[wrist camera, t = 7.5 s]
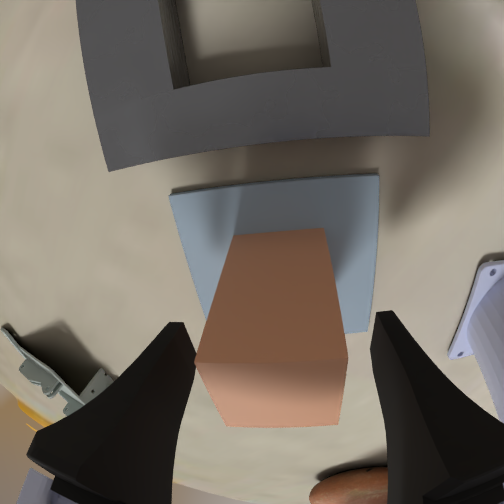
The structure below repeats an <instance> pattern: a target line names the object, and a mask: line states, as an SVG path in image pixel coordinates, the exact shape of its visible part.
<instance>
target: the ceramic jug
mask: <svg viewBox="0 0 504 504" xmlns="http://www.w3.org/2000/svg"><path fill="white" fill-rule="evenodd" d="M387 494H388V467H371V468H362V469H356V470H351V471H347V472H343V473H339V474H336V475H333V476H331V477H329V478H326V479H324V480H323V481H321V482H319V483H318V484H317V485H315V486H314V487H313V489H312V490H311V492H310V496H309V500H310V503H311V504H387Z"/></svg>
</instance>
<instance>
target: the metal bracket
mask: <svg viewBox="0 0 504 504" xmlns="http://www.w3.org/2000/svg"><path fill="white" fill-rule="evenodd" d="M1 331H2V332H3V334H4V335H5V336H6V337H7V339H8V340H9V341H10V342H11V343H12V345H13V346H14V347H15V348H16V349H17V351H18V352H19V353H20V354H21V355H22V356H23V357H24V359H25V361H24V362H23V363H22V365H21V366H20V368H19V371H20V372H21V373H22V374H23V375H24V376H25V377H26V378H27V379H28V380H29V381H30V382H31V383H32V384H34V385H38V386H41V387H42V391H43V393H44V394H45V395H47V397H48V398H50V399H51V398H53V397H54V396H55V395H56V394H57V393H58V394H59V395H60V396H62V397H63V398H64V399H65V400H66V401H67V402H68V404H67V405H66V406H65V408H64V409H63V413H64V414H65V415H67V416H68V415H70V414H72V413H73V412H75V411H77V410H78V409H80V408H81V407H83V406H84V405H85V404H87V403H88V402H89V401H91V400H92V399H94V398H95V397H96V396H98V395H99V394H100V393H101V392H103V391H104V390H105V389H106V388H107V387H108V386H110V385H111V384H112V383H113V382H114V380H113V379H112V378H111V377H110V376H109V375H106V376H105V371H104V370H103V369H102V368H100V369H99V370H98V372H97V373H96V374H95V376H94V377H93V378H92V379H91V381H90V382H89V383H88V385H87V386H86V387H85V389H84V390H83V391H82V393H81V394H80V395H79V396H78V395H77V394H76V393H75V392H74V391H73V390H72V389H71V388H70V387H69V386H68V385H67V384H66V383H65V382H64V381H63V380H62V379H61V378H60V377H59V376H58V375H57V374H56V373H55V372H54V371H53V370H52V369H51V368H50V367H48V366H47V365H45V364H44V363H42V362H41V361H40V360H38V359H37V358H35V357H34V356H33V355H31V354H30V353H28V352H27V351H26V350H24V349H23V348H22V347H20V346H19V345H18V343H17V342H16V341H15V340H14V339H13V337H12V336H11V335H10V334H9V332H8V331H7V330H5V329H4V328H3V327H2V328H1ZM92 390H94V392H93V393H92V392H91V391H92ZM52 391H53V392H52ZM51 392H52V394H51ZM67 409H68V410H67ZM66 410H67V411H66Z"/></svg>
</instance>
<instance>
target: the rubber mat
mask: <svg viewBox="0 0 504 504" xmlns="http://www.w3.org/2000/svg"><path fill="white" fill-rule="evenodd" d="M169 200H170V204H171V207H172V211H173V215H174V218H175V222H176V225H177V229H178V232H179V236H180V239H181V242H182V246H183V249H184V252H185V256H186V259H187V262H188V265H189V269H190V272H191V275H192V278H193V281H194V284H195V288H196V291H197V294H198V297H199V300H200V303H201V306H202V309H203V312H204V315H205V318H206V321H207V317H208V314H209V311H210V308H211V304H212V301H213V298H214V295H215V291H216V288H217V285H218V282H219V279H220V275H221V272H222V269H223V266H224V263H225V260H226V256H227V253H228V250H229V247H230V244H231V241H232V238H233V235H243V234H254V233H266V232H277V231H289V230H301V229H314V228H324V231H325V235H326V240H327V244H328V249H329V253H330V258H331V263H332V268H333V273H334V278H335V283H336V288H337V293H338V299H339V304H340V310H341V316H342V321H343V327H344V334H347V333H358V332H367V331H368V325H369V318H370V310H371V303H372V294H373V285H374V275H375V264H376V252H377V237H378V217H379V175H378V174H377V173H374V174H353V175H336V176H321V177H308V178H296V179H285V180H275V181H265V182H255V183H246V184H238V185H230V186H222V187H214V188H207V189H199V190H192V191H186V192H179V193H172V194H170V195H169Z"/></svg>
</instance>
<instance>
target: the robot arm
mask: <svg viewBox="0 0 504 504" xmlns="http://www.w3.org/2000/svg"><path fill="white" fill-rule="evenodd" d="M491 270H492V271H491ZM490 271H491V272H490ZM370 352H371V360H372V368H373V374H374V378H375V383H376V387H377V391H378V395H379V400H380V404H381V409H382V413H383V418H384V423H385V430H386V441H387V458H388V494H387V504H504V260H500V261H492V262H486V263H483V264H482V265H481V266H480V267H479V269H478V272H477V275H476V278H475V282H474V285H473V288H472V291H471V294H470V297H469V300H468V303H467V306H466V309H465V311H464V314H463V317H462V320H461V322H460V325H459V327H458V330H457V332H456V335H455V337H454V340H453V342H452V344H451V347H450V349H449V351H448V354H447V355H448V358H449V359H450V360H453V359H457V358H462V357H466V356H470V355H475V358H476V360H477V362H478V364H479V367H480V369H481V372H482V374H483V376H484V379H485V381H486V384H487V386H488V389H489V392H490V394H491V397H492V400H493V403H494V405H495V408H496V411H497V414H498V417H499V420H500V421H499V420H498V419H496V418H495V417H493V416H492V415H490V414H489V413H487V412H486V411H485V410H483V409H482V408H481V407H480V406H478V405H477V404H476V403H475V402H473V401H472V400H471V399H470V398H468V397H467V396H466V395H465V394H464V393H463V392H462V391H461V390H460V389H458V388H457V387H456V386H455V385H454V384H453V383H452V382H451V381H450V380H449V379H448V378H447V377H446V376H445V375H444V374H443V373H442V371H441V370H440V369H439V368H438V367H437V366H436V365H435V364H434V363H433V361H432V360H431V359H430V358H429V357H428V356H427V354H426V353H425V352H424V351H423V349H422V348H421V347H420V346H419V345H418V343H417V342H416V341H415V340H414V338H413V337H412V336H411V334H410V333H409V332H408V330H407V329H406V328H405V326H404V325H403V324H402V322H401V321H400V320H399V318H398V317H397V316H396V314H395V313H394V312H393V311H392V310H390V311H382V312H376V317H375V323H374V329H373V335H372V341H371V346H370ZM195 357H196V351H195V349H194V347H193V344H192V342H191V340H190V337H189V335H188V333H187V330H186V328H185V325H184V323H183V322H169V323H168V324H167V325H166V326H165V327H164V328H163V330H162V331H161V332H160V333H159V334H158V335H157V336H156V338H155V339H154V340H153V341H152V342H151V343H150V344H149V346H148V347H147V348H146V349H145V350H144V351H143V352H142V353H141V354H140V356H139V357H138V358H137V359H136V360H135V361H134V362H133V363H132V364H131V365H130V366H129V367H128V368H127V369H126V370H125V371H124V372H123V373H122V374H121V375H120V376H119V377H118V378H117V379H116V380H115V381H114V382H113V383H112V384H111V385H110V386H108V387H107V388H106V389H105V390H104V391H103V392H101V393H100V394H99V395H98V396H96V397H95V398H94V399H92V400H91V401H89V402H88V403H87V404H85V405H84V406H83V407H81V408H80V409H78V410H77V411H75V412H73V413H72V414H70V415H68V416H67V417H65V418H63V419H61V420H60V421H58V422H56V423H54V424H52V425H49V426H47V427H45V428H43V429H41V430H39V431H37V432H36V434H35V436H34V438H33V441H32V443H31V445H30V447H29V450H28V452H27V457H28V458H29V459H31V460H32V461H33V462H35V463H36V464H38V465H39V466H41V467H42V468H44V469H45V470H47V471H48V472H50V473H51V474H53V475H55V478H54V480H52V479H50V478H48V477H47V476H44V475H43V474H41V473H39V472H38V471H36V470H34V469H33V468H30V469H29V472H28V474H27V477H26V479H25V482H24V484H23V487H22V490H21V493H20V495H19V498H18V500H17V503H16V504H171V501H172V479H173V468H174V459H175V451H176V445H177V439H178V433H179V429H180V425H181V421H182V418H183V414H184V411H185V408H186V404H187V401H188V398H189V394H190V391H191V387H192V384H193V380H194V376H195V370H196V365H195V363H194V361H195Z"/></svg>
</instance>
